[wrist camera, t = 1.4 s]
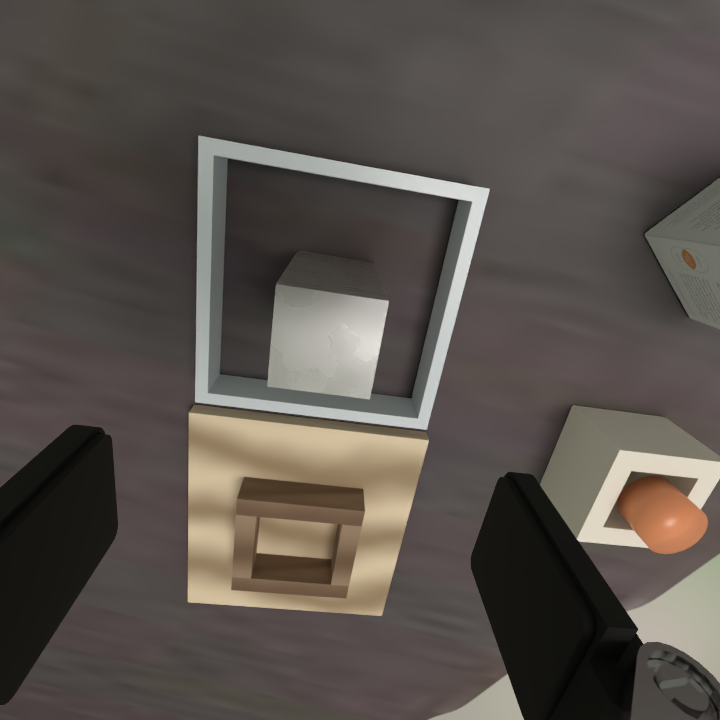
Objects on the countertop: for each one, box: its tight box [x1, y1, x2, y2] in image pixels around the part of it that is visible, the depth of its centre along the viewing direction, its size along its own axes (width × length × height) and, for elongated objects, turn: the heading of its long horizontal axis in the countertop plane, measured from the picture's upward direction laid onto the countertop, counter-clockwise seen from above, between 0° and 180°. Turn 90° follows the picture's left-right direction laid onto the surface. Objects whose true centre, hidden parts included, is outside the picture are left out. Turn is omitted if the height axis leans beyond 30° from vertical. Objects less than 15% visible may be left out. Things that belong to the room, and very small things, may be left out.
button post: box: [540, 405, 720, 548], centre depth 32 cm, size 8×8×6 cm
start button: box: [617, 476, 708, 554], centre depth 28 cm, size 4×4×3 cm
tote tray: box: [195, 136, 490, 430], centre depth 27 cm, size 16×16×3 cm
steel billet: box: [267, 250, 389, 399], centre depth 24 cm, size 5×5×10 cm
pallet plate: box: [188, 405, 429, 616], centre depth 34 cm, size 20×18×4 cm
